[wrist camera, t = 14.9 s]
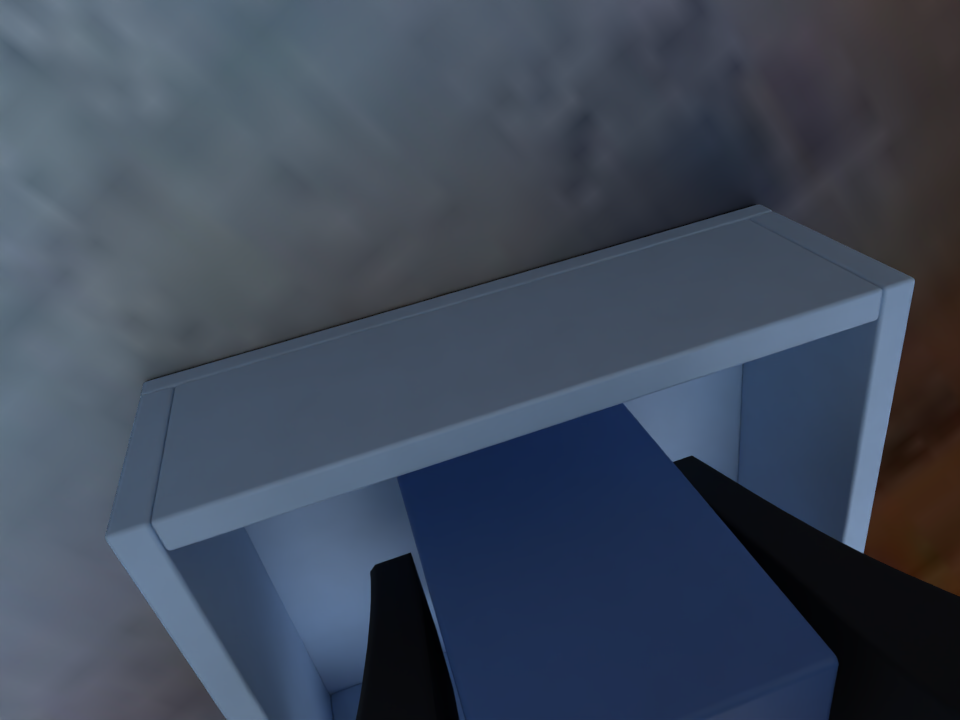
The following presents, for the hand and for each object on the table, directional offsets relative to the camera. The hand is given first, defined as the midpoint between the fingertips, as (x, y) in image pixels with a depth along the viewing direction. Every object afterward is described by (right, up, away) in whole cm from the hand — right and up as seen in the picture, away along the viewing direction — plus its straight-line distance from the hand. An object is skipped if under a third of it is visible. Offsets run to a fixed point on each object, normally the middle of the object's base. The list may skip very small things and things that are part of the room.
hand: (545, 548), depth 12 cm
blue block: (0, +1, +1) cm, 2 cm away
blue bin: (-1, +1, +2) cm, 2 cm away
